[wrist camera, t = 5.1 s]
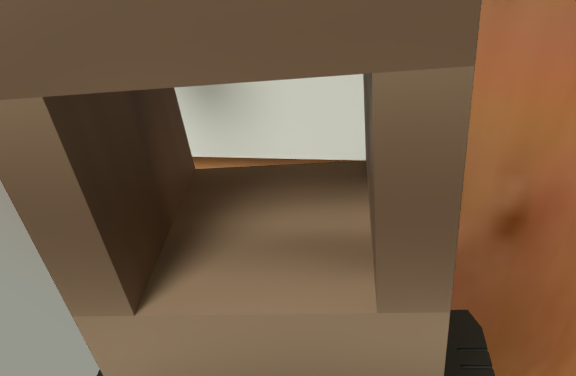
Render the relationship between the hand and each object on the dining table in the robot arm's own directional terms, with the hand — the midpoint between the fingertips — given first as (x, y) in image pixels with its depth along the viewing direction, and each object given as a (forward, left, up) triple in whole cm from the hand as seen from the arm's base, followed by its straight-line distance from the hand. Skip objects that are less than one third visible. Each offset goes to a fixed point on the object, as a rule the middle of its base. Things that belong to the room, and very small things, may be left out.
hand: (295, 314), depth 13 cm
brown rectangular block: (0, -3, 0) cm, 3 cm away
